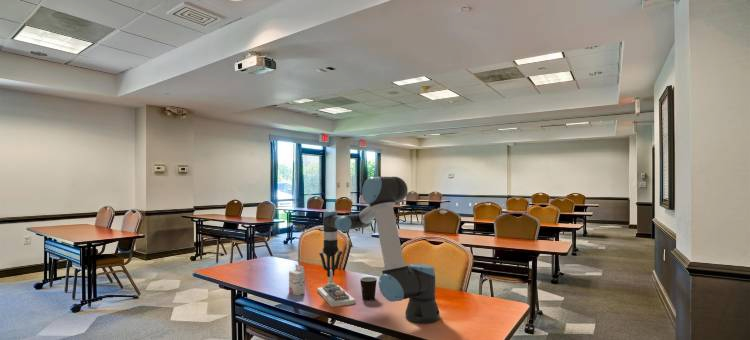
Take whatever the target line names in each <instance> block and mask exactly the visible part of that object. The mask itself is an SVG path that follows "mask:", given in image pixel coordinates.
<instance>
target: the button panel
mask: <svg viewBox="0 0 750 340" xmlns="http://www.w3.org/2000/svg"><path fill="white" fill-rule="evenodd" d="M336 286H338V287H340V290H343V291H345V295H344V296H335V292H331V290H330V288H327V287H326V285H323V286H322V287H317V290H316V292H317V293H318V294H319V295H320V296H321V297H322V298H323V299H324V301H326V302H327V303H328V304H329V306H330V307H331V308H335V307H340V306H342V307H343V306H348V305H355V304H356V299H355V298H354V297H353V296H351V295H350V293H348V292H347V291H346V290H345V289H344V288H342V286H340V285H338V284H336Z"/></svg>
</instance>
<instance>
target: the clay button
mask: <svg viewBox="0 0 750 340" xmlns="http://www.w3.org/2000/svg"><path fill="white" fill-rule="evenodd" d="M343 290H344V289H343ZM343 290H338V291H335V296H344V295H345V291H346V290H344V291H343Z"/></svg>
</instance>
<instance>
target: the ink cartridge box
mask: <svg viewBox="0 0 750 340" xmlns="http://www.w3.org/2000/svg"><path fill="white" fill-rule="evenodd" d="M305 278H306V273H305V266H303V265H299V264H295V269H293V270H289V271H288V292H289V293H290V294H293V295H296V296H302V295H304V294H305V293H306V290H305V286H306V285H305V283H306V281H305Z"/></svg>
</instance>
